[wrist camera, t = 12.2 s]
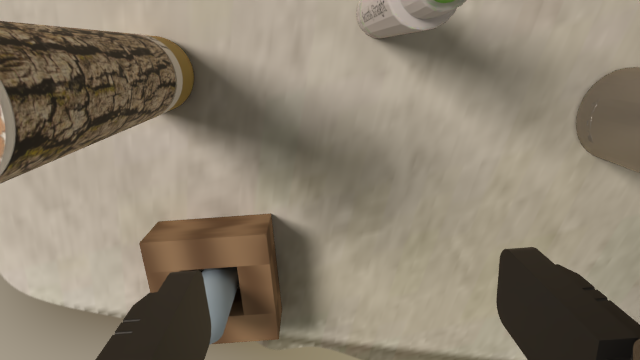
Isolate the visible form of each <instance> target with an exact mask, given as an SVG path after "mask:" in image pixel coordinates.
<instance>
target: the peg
mask: <svg viewBox="0 0 640 360" xmlns="http://www.w3.org/2000/svg"><path fill="white" fill-rule="evenodd" d="M202 275H203V279H204V285H205V290H206V296H207V301H208V307H209V313H210V318H211V339H210V344H212V343H215V342H216V341H218V340H219V339H220V338H221V337H222V335H223V333H224V330H225V326H226V323H227V320H228V317H229V313H230V310H231V307H232V304H233V300H234V297H235V294H236V291H237V287H238V284H239V278H238V271H237V267H224V268H210V269H203V271H202Z"/></svg>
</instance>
